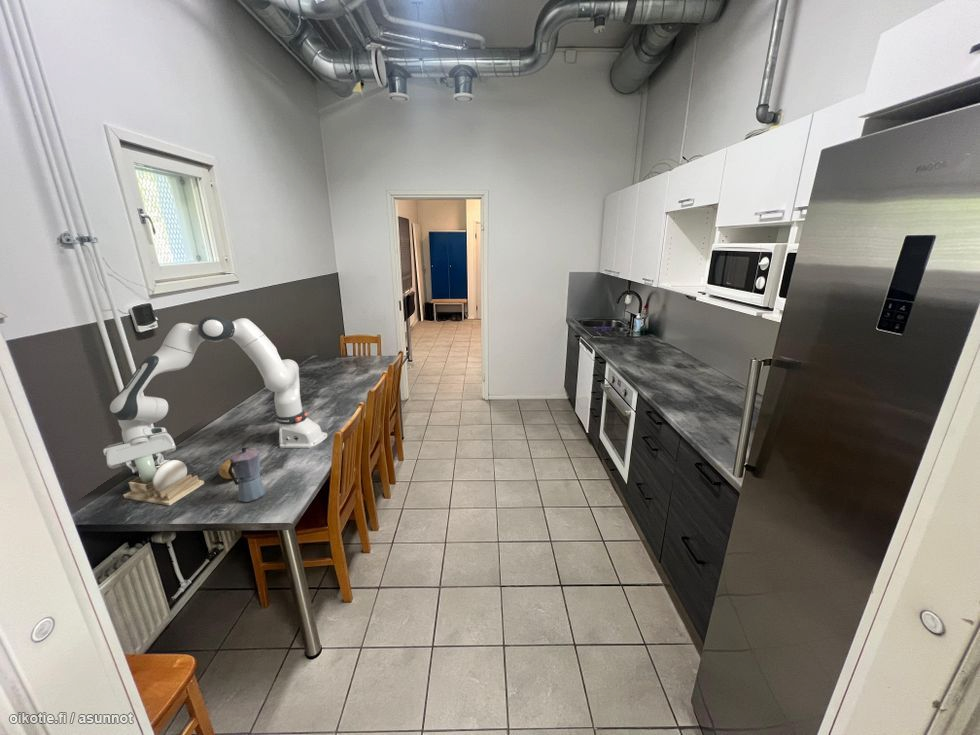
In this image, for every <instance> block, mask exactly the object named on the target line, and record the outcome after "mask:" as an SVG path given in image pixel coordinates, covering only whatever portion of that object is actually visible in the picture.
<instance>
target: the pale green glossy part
mask: <svg viewBox="0 0 980 735" xmlns="http://www.w3.org/2000/svg"><path fill="white" fill-rule="evenodd" d="M134 461H135V462H134V463H135V464H134V465H135V467H137V470H138V472H137V474H138V475H139V476H140V478H141V481H142V484H149V483H150V482H152V481H153V476H154V473H155V472H156V470H157V469H158V468H157V466H155V463H154V461H155V460H154V457H153V456H152V455H151V454H150V455H146V456H143V457H139V458H136V459H135V460H134Z"/></svg>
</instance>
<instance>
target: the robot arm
mask: <svg viewBox="0 0 980 735" xmlns="http://www.w3.org/2000/svg"><path fill="white" fill-rule="evenodd" d="M226 339H231V340H232V341H234V342H235V343H236V344H237V345H238V346H239V347H240V348H241V349H242V351H243V352H244V353H245V355H247V356H248V358H249V359H250V360H251V361H252V362H253V364H254V365H255V366H256V368H257V369H258V371H259V373H260V375H261V377H262V379H263V382H264V386H265V387H266V388H267V389H268V390H269V391H271V392H272V393H274V397H273V400H274V405H275V411H276V415H275V417H276V422H277V423H278V434H279V436H278V444H279V448H280V449H312V448H314V447H316V446H318V445H319V444H321V443H322V442H323V441H324V440H326V439H327V437H328V433H327V432H324V431H322V429H321V426H320V425H319V424H318V423H317V422H315V421H314V420H312V419H310V418H309V417H308V416H307V415H309V414H308V411H307V412H305V410H304V409H303V407H302V406H303V405H302V400H301V393H300V392H301V391H300V388H301V387H300V372H299V371H300V367H299V364H298V363H297V362H296V361H295V360H293V359H288V358H287V359H281V356H280V355H279V352H278V349H277V347H276V346H275V344H274V343H273V342H272V340H270V339H269V337H267V336H266V334H265V333H264V332H263V331H262V330H261V329H260V328H259V327H258V326H257V325H256V324H255V323H254V322H252V321H251V320H250V319H249V318H245V317H241V318H238V319H235V320H229V319H227V318H224V317H223V316H218V315H213V314H212V315H207V316H205V317H202V318H201V319H200V320H199V322H198V323H197V324H191V323H189V322H188V323H187V322H179V323H177V324H175V325H174V326H173V327H172V328H171V329H170V330H169V332H168V333H167V335H166V337H165V338H164V340H163V343H162V344H161V346H160V348H159V349H158V350H157V351H156V352H154V354H152V355H149V356H147V357H146V358H144V360H143V361H142V362H141V363H140V364H139V366H138V367H137V369H135V371H134V372H133V374H132V375H131V377H130V379H129V380H127V383H126V384H125V386H123V388H122V389H121V390H120V392H119V393H118V394H117V395H116V396H115V397H114V398H113V399H111V401H110V403H109V407H108V410H109V412H110V415H112V416H113V417H114V418H115V419H116V420H117V421H118V425H119V427H120V428H121V436H122V441H121V442H116V443H114V444H108V445H107V446H106V447H104V448H103V450H102V452H103V455H104V456H105V457H106V465H107V467H108V468H110V469H116V468H120V467H124V466H126V467H128V468H129V469H130V470H131V471H132V474H138V470H137V467H136V466H134V465H133V463H135V461H134V460H135V459H136V458H139V457H143V456H146V455H150V454H151V455H152V456H153V458H155V457H156V458H157V459H156V460H154V463H155V466H156V467H159V466H161V463H160V462H161V460H162V455H164V454H169V453H172V452H175V451H176V449H177V446H176V444H175V441H174V438H173V437H172V436H171V435H170V433H168V431H167V428H166V427H151V425H152V424H155V423H159V422H160V421H162V420H164V419H165V418H167V416H168V415H169V413H170V404H169V402H168V400H166V399H165V398H162V397H156V396H147V395H141V394H142V393H143V392H144V391H145V389H146V388H147V386H148V384H149V383H150V381H151V380H152V379H153V378H154V377H155V376H157V375H159V374H162V373H167V372H174V371H178V370H179V371H180V370H182V369H185V368H186V367H189V365H190V364H191V362H192V361H193V359H194V358H195V354H196V352H197V350H198V348H199V346H200V345H201V343H203V342H212V343H218V342H222V341H225V340H226Z"/></svg>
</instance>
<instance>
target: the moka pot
mask: <svg viewBox="0 0 980 735" xmlns="http://www.w3.org/2000/svg"><path fill="white" fill-rule="evenodd" d="M260 455H261V454H260V450H258V449H257V447H251V448H248V449H247V447H242V448H241V450H240V451H238V452H235V453H233V454H232V455H231V456H230V457H229V459H230V461H231V464H230V467H229V470H228V472H229V475H230V476H231V478H232V479H231V480H232V481H233V484H235V486H238V487H237V488H238V492H237V493H238V495H237V497H238V501H240V502H242V503H249V502H253V501H256V500H258V499H261V498H262V497H263V496H264V495H265V494H266V490H265V487H264V484H263V481H262V478H261V476H260V475H261V472H260V470H261V458H260V457H261V456H260ZM232 468H233V470H234V472H235V475H236V476H237V478H235V476H234V473H233V472H232Z"/></svg>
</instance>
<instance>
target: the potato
mask: <svg viewBox="0 0 980 735" xmlns="http://www.w3.org/2000/svg"><path fill="white" fill-rule="evenodd" d="M230 464H231V461H230V458H228V459H227V460H225V461H224V462H223V463H222V464H220V467H219V469H218V474H219V476H220V477H221V478H223V479H227V480H230V479H231V480H232V478H231V476H230V475H229V472H228V470H229V467H230ZM232 472H233V473H234V476H235V479H238V478H237V476H236V475H235V472H234V470H233V468H232Z"/></svg>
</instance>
